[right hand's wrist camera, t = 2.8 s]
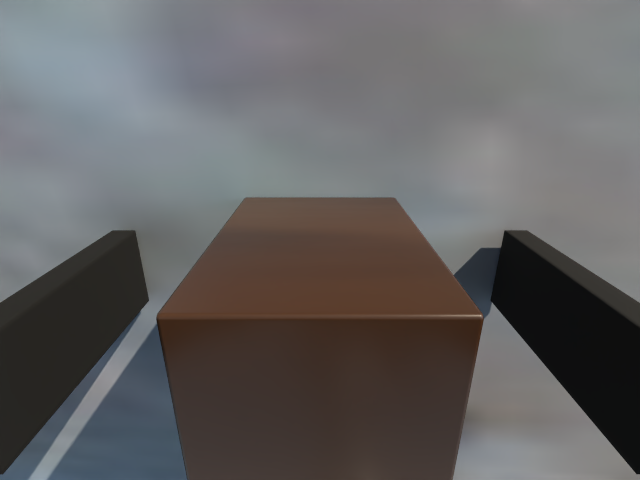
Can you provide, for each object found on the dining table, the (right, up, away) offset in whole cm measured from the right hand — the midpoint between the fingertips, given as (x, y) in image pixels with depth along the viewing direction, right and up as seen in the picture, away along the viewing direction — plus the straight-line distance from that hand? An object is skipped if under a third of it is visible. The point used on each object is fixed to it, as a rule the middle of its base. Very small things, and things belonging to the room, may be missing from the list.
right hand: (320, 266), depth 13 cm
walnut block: (0, 0, 0) cm, 0 cm away
